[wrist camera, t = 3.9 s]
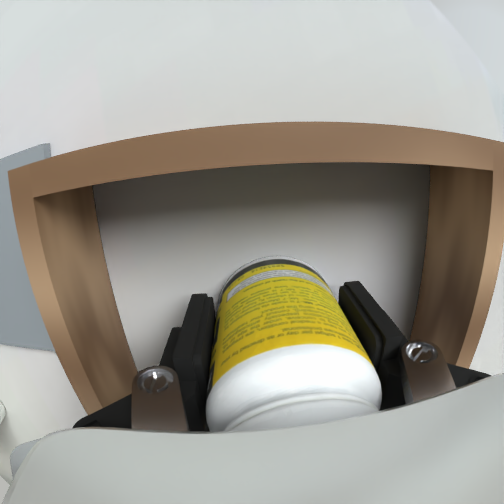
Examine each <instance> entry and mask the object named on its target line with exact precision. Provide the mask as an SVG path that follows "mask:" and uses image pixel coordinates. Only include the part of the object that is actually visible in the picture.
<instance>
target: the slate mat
mask: <svg viewBox="0 0 504 504" xmlns="http://www.w3.org/2000/svg"><path fill="white" fill-rule="evenodd" d="M50 157H51V154H50V143H48V144H41V145H38V146H35V147H32V148H29V149H26V150H23V151H21V152H18V153H15V154H13V155H10V156H7V157H5V158H2V159H0V344H4V345H10V346H17V347H24V348H32V349H40V350H49V351H55V349H54V347H53V344H52V342H51V340H50V337H49V335H48V332H47V330H46V327H45V324H44V322H43V319H42V316H41V314H40V311H39V308H38V305H37V302H36V299H35V296H34V293H33V290H32V287H31V284H30V280H29V277H28V274H27V270H26V267H25V263H24V259H23V255H22V251H21V247H20V243H19V238H18V234H17V229H16V224H15V219H14V213H13V208H12V201H11V195H10V188H9V180H8V171H9V170H12V169H15V168H18V167H21V166H24V165H27V164H30V163H34V162H37V161H40V160H43V159H47V158H50Z"/></svg>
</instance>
